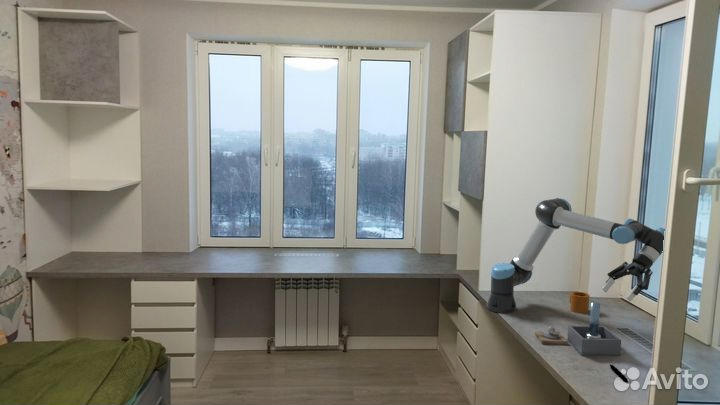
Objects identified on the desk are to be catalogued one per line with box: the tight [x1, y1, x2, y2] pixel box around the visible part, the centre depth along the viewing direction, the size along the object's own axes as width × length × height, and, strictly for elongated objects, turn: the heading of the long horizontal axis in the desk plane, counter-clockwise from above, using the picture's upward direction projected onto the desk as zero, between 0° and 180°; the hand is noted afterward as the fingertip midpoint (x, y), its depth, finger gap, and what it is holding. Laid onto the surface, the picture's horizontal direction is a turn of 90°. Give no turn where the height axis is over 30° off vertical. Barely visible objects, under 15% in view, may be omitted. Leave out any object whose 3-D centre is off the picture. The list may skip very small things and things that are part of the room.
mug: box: [569, 291, 590, 314], centre depth 274 cm, size 9×12×9 cm
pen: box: [609, 363, 629, 383], centre depth 199 cm, size 2×14×2 cm, turn 179°
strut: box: [585, 301, 601, 339], centre depth 223 cm, size 6×6×19 cm
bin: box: [566, 325, 622, 357], centre depth 224 cm, size 16×16×7 cm
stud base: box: [534, 326, 569, 345], centre depth 233 cm, size 11×11×6 cm
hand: (615, 294), depth 225 cm, fingers open, 13 cm apart
